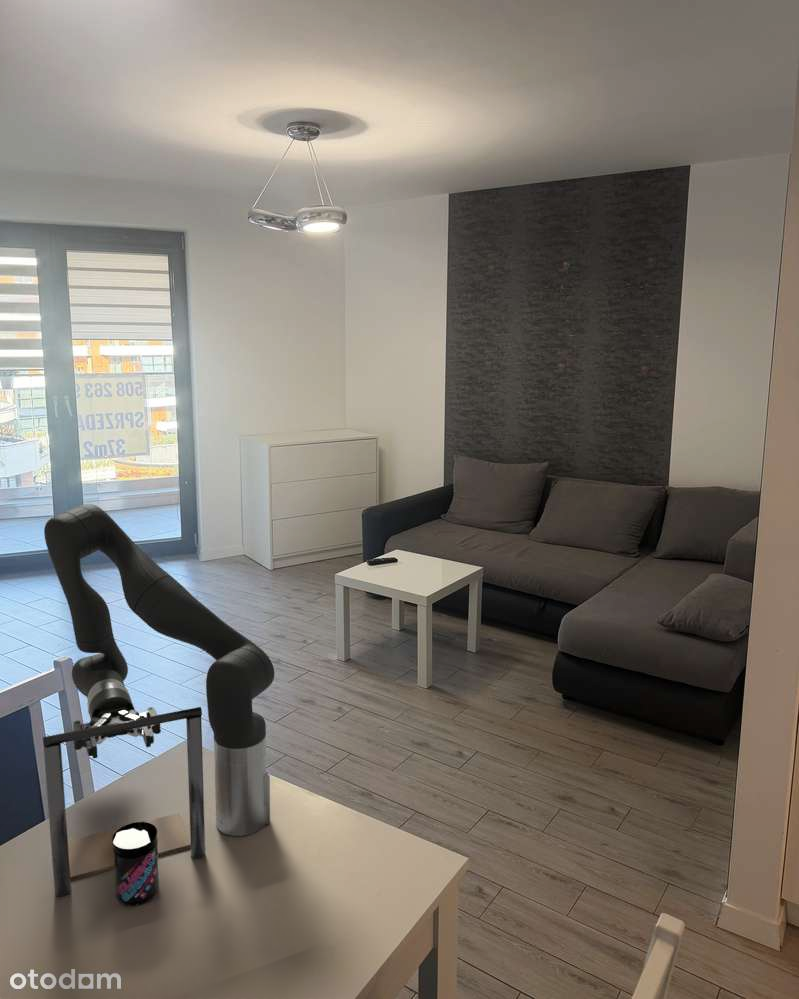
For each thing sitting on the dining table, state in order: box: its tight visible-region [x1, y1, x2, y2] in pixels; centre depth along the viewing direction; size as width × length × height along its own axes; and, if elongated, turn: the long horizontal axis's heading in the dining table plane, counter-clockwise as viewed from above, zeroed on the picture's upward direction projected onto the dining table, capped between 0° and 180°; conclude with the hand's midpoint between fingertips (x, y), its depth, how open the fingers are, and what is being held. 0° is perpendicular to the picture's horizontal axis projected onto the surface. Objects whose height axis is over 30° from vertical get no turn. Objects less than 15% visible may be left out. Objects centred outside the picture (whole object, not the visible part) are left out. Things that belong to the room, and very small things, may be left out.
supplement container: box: [112, 821, 160, 907], centre depth 120 cm, size 7×7×10 cm
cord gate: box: [42, 706, 206, 899], centre depth 122 cm, size 24×2×27 cm, turn 117°
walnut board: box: [68, 812, 191, 881], centre depth 132 cm, size 20×10×1 cm, turn 117°
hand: (122, 747), depth 126 cm, fingers open, 8 cm apart
